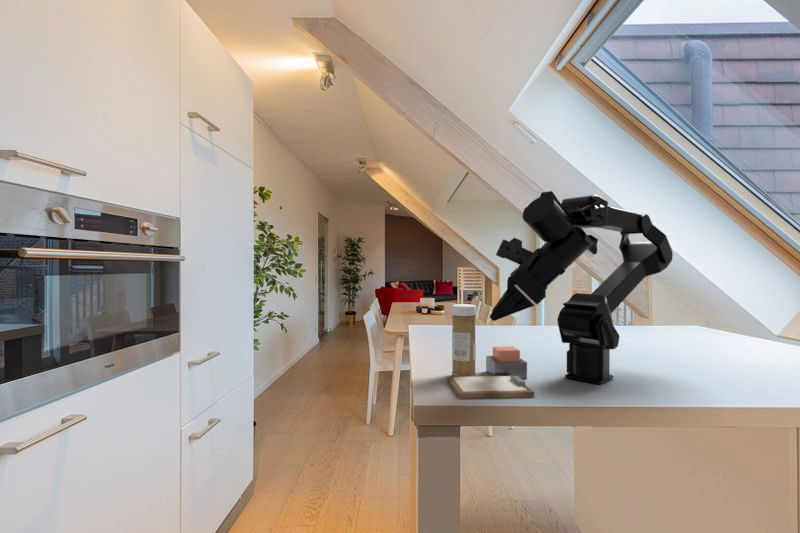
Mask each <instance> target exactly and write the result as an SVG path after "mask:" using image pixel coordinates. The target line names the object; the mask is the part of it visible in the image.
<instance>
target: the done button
mask: <svg viewBox="0 0 800 533" xmlns="http://www.w3.org/2000/svg"><path fill="white" fill-rule="evenodd" d="M492 356H493V359H494V360H495V361H497V362H520V358H521V351H520V349H519V348H516V347H515V346H512V345H511V346H492Z"/></svg>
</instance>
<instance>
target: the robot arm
mask: <svg viewBox="0 0 800 533" xmlns="http://www.w3.org/2000/svg"><path fill="white" fill-rule="evenodd" d="M522 220H523V221H524V222H525V224H526V225H528V227H529V228H531V230H532V231H533V232H534V233H535V234H536V235H537V236H538V237H539V238H540V239H541V240H542V241H543V242H544V244H543V245H541V247H537V248H536V249H535V250H533V251H532V250H528V249H527V248H525V247H523V241H522V239H519V238H516V237H513V238H512V239H510V240H509V241H508V240H507V239H504V238H503V239H502V241H501V243H500V245H499V247H498V249H497V252H496V253H495V256H497V257H499V258H501V259H506V260H508V261H510V262H512V263H516V264H517V265H518V266H517V267H516V268H515V269H514V270H512V272H511V273H509V275H510V276H508V278H507V280H506V281H507V282H506V284H507V285H506V290H505V291H504V293H503V294H502V296H501V297H500V299H499V300H498V301H497V303H495V305H494V307H493V308H492V309H491V313H490V315H489V319H491V320H492V321H493V322H495V321H498V320H500V319H503V318H506V317H508V316H511V315H513V314H516V313H518V312H522V311H524V310H526V309H529V308H533V307H535V305H536V306H537V305H539V304H540V303H541V302H542V301H543V300H544V299H545V298H546V295H547V294H546V293H547V292H546V291H547V289H548V287H549V285H551V283H553V282H554V281H555V280H556V279H557V278H558V277H559V276H562V275H563V274H564V273H565V272H566V270H567V269H569V267H570V266H571V265H572V264H573V263H574V262H575V261H576V260H578V259H579V257H581V256H582V255H583V254H584V253H585V252H586V251H588V252H589V253H590V254H592V255H596V254H598V241H599V240H598V238H596V237H595V236H594V235H592V234H587V233H586V231H585V230H584V229H592V228H593V229H594V228H598V229H603V230H606V231H607V230H608V231H613V232H619V233H620V235H621V239H620V243H619V245H618V246H619V247H618V248H619V250H620V253H621V256H622V259H623V262H622V263H621V264H619V266H618V267H617V268H615V270H614V271H613V272H612V273H611V274H610V275H609V276H608V277H607V278H606V279H605V280H603V282H602V283H601V284H600V285H599V286H598V287H596V289H595V290H594V291H592V293H582V292H581V293H579V292H577V293H576V292H575V293H574V294H573V295H571V297H570V298H569V299H568V300H567V301H566V302H563V303H562V305H563V307H562V308H561V309H560V311H559V314H558V316H557V327H558V329H559V330H558V331H559V334H560V339H561V343H563V344H568V350H566V373H567V374H566V373H565V374H564V378H566V379H572V380H576V381H581V382H587V383H591V384H595V385H596V384H597V385H602V384H603V383H605V382H607V381H609V380H610V381H611V380H612V379H613V378H614V375H612V374H610V368H611V367H610V363H611V362H610V361H611V360H610V356H611V355H610V354H611V353H610V350H616V348H618V347H619V341H620V334H619V332H618V331H617V329H616V327H615V326H614V323H613V316H612V314H613V312H614V311H615V310H616V309H617V308H618V307H619V306H620V305H621V303H623V302H624V300H625V299H626V298H628V296H629V295H630V294H631V293H632V291H634V289H635V288H637V286H638V285H639V284H640V283H642V281H643V280H644V279H645V278H646V277H649V276H652V275H656V274H660V273H662V272H663V271H664V270H665V269H667V268H668V267H669V265H670V264H671V263H672V260H673V256H674V255H673V250H672V246H671V244H670V242H669V239H668V238H667V237H668V236H667V235H666V234H665V233H664V232H662V230H660V229H659V228H657V227H656V225H654V224H653V221H652V220H651V218H650V216H649V214H647V213H646V214H644V213H639V212H638V213H637V212H633V211H631V210H630V211H629V210H625V209H621V208H617V207H613V206H610V205H609V201H608V200H607V199H604V198H603V197H601V196H600V195H597V194H592V195H585V196H577V197H569V198H564V199H562V200H561V201H559V200H558V198H557V196H556V194H555V193H554V192H553V191H552V190H550V191H545V192H544V191H543V192H542V191H541V193H540V195H539V197H537V198H535V199H534V200H532V201H531V202H530V203H529V204H528V205H527V206H526V207H525V208H524V209H523V211H522ZM630 234H631V235H633V234H635V235H636V234H642V235H643V237H644V238H645V239H646V240H648V241H637V242H636V241H635V242H634V241H633V242H631V241H630V239H629V235H630ZM532 301H533V302H532ZM534 303H535V304H534Z"/></svg>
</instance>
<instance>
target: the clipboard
mask: <svg viewBox="0 0 800 533" xmlns="http://www.w3.org/2000/svg"><path fill="white" fill-rule="evenodd" d="M446 382H447V383H448V385H449V386H450V387H451V389H452V391H453V392H454V393H455V395H456V396H457V397H458V399H459V400H463V399H502V398H503V399H504V398H506V399H508V398H509V399H511V398H512V399H513V398H535V391H533V390H532V389H530V387H528V386H527V385H526V381H525V380H524V379H521V378H520V377H518V376H512V375H510V376H491V375H476V376H452V375H451V376H446Z"/></svg>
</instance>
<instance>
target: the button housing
mask: <svg viewBox="0 0 800 533" xmlns="http://www.w3.org/2000/svg"><path fill="white" fill-rule="evenodd" d="M485 357H486V358H485V359H486V360H485V365H486V366H485V372H486V373H487V374H488V375H489V376H510V375H512V376H518V377H520V378H521V379H522V380H524V379H525V380H526V379H527V378H528V362H527V361H526V360H524V359H522V358H521V357H520V362H497V361H495V360H494V359H493V355H486V356H485Z"/></svg>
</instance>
